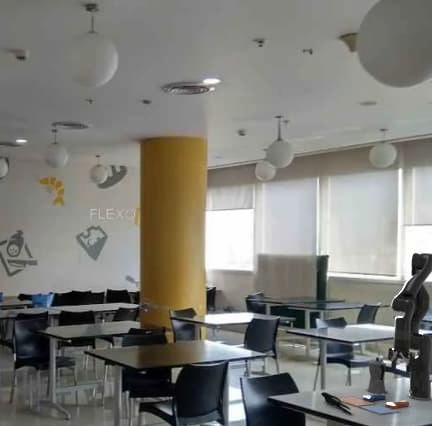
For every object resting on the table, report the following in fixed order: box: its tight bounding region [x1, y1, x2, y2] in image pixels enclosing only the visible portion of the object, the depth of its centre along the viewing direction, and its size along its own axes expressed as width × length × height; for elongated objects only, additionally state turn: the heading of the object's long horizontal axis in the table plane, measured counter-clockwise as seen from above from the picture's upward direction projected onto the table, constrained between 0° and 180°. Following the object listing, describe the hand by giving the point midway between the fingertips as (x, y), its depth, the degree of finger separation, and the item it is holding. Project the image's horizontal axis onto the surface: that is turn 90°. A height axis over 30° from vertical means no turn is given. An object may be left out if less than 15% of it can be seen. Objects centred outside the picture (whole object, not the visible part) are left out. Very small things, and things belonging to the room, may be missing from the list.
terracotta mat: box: [335, 396, 376, 407], centre depth 306 cm, size 12×14×1 cm
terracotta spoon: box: [385, 400, 410, 410], centre depth 299 cm, size 14×5×3 cm, turn 114°
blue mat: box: [359, 404, 399, 415], centre depth 292 cm, size 12×12×1 cm
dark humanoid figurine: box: [320, 391, 353, 416], centre depth 294 cm, size 8×9×25 cm
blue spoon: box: [362, 393, 387, 403], centre depth 311 cm, size 14×5×3 cm, turn 114°
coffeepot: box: [367, 357, 387, 394], centre depth 330 cm, size 15×9×18 cm, turn 178°
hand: (400, 371), depth 306 cm, fingers open, 8 cm apart
